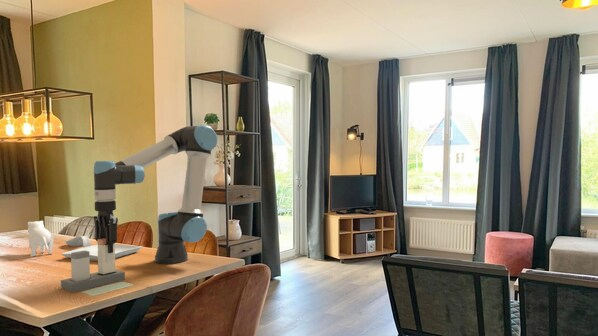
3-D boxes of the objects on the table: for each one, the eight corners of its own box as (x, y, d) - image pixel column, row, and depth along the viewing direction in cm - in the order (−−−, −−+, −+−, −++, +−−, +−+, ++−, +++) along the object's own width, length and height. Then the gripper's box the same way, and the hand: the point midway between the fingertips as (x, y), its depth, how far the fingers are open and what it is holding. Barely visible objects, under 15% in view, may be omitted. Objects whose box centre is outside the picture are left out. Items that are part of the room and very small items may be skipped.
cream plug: (110, 270, 170) (109, 237, 169) (115, 271, 167) (114, 238, 167) (98, 272, 166) (97, 239, 165) (103, 274, 163) (102, 240, 163)
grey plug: (85, 284, 161) (84, 250, 161) (89, 286, 159) (89, 251, 159) (71, 287, 157) (71, 252, 157) (76, 289, 155) (75, 253, 155)
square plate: (105, 264, 200) (104, 256, 200) (59, 260, 208) (59, 252, 208) (143, 252, 225) (143, 245, 225) (101, 249, 234) (101, 242, 234)
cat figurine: (60, 256, 216) (59, 223, 216) (36, 259, 208) (35, 225, 208) (44, 249, 233) (43, 219, 233) (22, 252, 226) (21, 221, 225)
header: (112, 278, 173) (112, 268, 173) (125, 282, 168) (124, 272, 168) (61, 291, 157) (60, 280, 157) (73, 295, 152) (72, 284, 152)
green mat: (122, 284, 165) (122, 281, 165) (134, 287, 161) (134, 284, 161) (80, 294, 152) (80, 291, 152) (92, 298, 148) (92, 295, 148)
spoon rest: (62, 246, 244) (61, 233, 244) (83, 243, 253) (83, 231, 253) (76, 251, 228) (76, 238, 228) (99, 248, 236) (99, 235, 236)
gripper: (84, 200, 168) (86, 259, 168) (107, 202, 158) (108, 265, 158) (103, 198, 174) (104, 256, 174) (126, 200, 164) (127, 261, 165)
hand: (106, 260), depth 166 cm, fingers closed on cream plug, 3 cm apart
